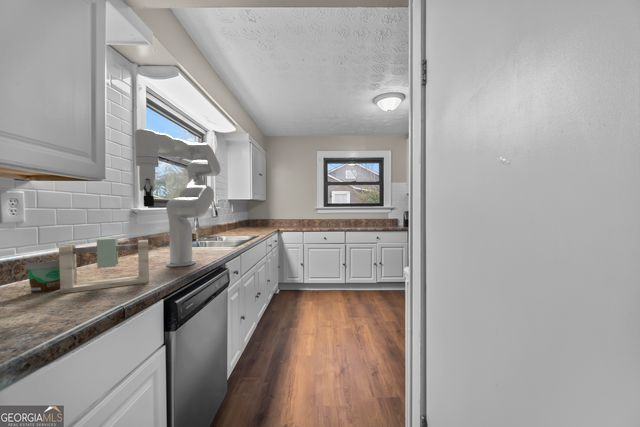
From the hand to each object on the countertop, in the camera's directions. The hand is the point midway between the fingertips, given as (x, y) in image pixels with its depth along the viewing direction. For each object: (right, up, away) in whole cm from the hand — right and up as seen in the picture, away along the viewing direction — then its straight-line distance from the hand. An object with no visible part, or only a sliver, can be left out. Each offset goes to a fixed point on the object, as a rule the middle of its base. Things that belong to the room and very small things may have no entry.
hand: (149, 206), depth 108 cm
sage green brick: (-7, -21, -12) cm, 25 cm away
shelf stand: (-7, -28, -12) cm, 31 cm away
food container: (-22, -29, -15) cm, 39 cm away
